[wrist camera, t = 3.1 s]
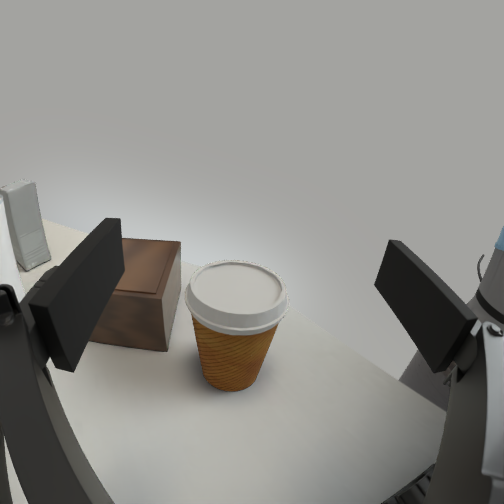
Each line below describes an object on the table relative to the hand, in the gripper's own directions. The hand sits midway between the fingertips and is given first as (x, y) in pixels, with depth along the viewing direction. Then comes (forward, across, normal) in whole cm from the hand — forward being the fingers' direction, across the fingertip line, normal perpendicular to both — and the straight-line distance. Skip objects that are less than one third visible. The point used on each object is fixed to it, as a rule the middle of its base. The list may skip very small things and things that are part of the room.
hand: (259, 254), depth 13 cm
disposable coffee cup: (+10, 0, -20) cm, 22 cm away
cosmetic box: (+30, -40, -20) cm, 54 cm away
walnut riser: (+19, -14, -20) cm, 31 cm away
